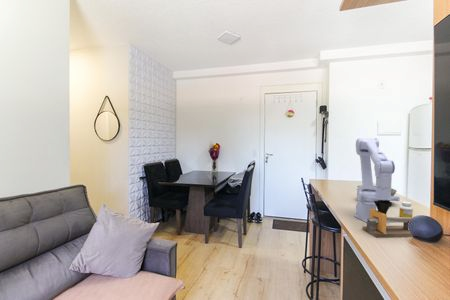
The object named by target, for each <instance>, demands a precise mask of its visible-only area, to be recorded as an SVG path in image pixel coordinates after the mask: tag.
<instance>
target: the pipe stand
mask: <svg viewBox="0 0 450 300" xmlns="http://www.w3.org/2000/svg"><path fill="white" fill-rule="evenodd" d="M411 219H412V220H413V217H412V218H410V217H399V216H398V217H397V216H396V217H389V216H388V217H386V224H387V223H388V224H391V223H393V224H394V223H395V224H397V223H398V224H399V223H403V224H402V225H386V232H384V233H382V232H381V231H379V230H377V229H376V223H379V218H377V217H376V218H368V219H367V222H366V226H365V225H363V226H362V228H361V229H362V231H364V232H366V233H368V234H370V235H371V236H373V237H374V238H376V239H378V238H380V239H381V238H409V237H410V238H412V237H413V236H412V234H411V233H410V232H409V230H408V223H409V221H410V220H411Z"/></svg>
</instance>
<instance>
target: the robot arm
mask: <svg viewBox="0 0 450 300" xmlns="http://www.w3.org/2000/svg"><path fill="white" fill-rule="evenodd" d="M379 146H380V140H379V139H378V138H359V137H357V139H356V141H355V152H356V154H357V155H358V156H359V159H360V170H361V181H362V182H361V183H362V184H361V185H359V186H360V187H357V188H356V200H357V203H356V204H355V214H354V215H353V216H354V217H355V218H357V219H359V220H361V221H362V222H365V223H367V219H368V218H370V209H375V210H377V211H379V212H382V213H384V214H386V215H387V213H388V211H389V209H390V208H391V206H393V202H394V201H395V202H400V198H401V197H400V196H397V195H394V196H391V188H392V179H393V178H392V176H393V174H394V173H395V170H396V167H395V162H394V161H393V160H390V159H388V158H387V156H386V154H385V153H384V152H383V151H380V149H379ZM372 162H373V164H374V167H373V169H374V176H375V185H374V181H373V172H372ZM375 186H376V187H375ZM362 190H364V191H362Z"/></svg>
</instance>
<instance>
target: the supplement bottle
mask: <svg viewBox="0 0 450 300" xmlns="http://www.w3.org/2000/svg"><path fill="white" fill-rule="evenodd" d="M413 211H414V209H413V207H412V202H409V201H401V205H400V206H399V212H398V214H399V216H398V217H410V218H412V219H413V213H414V212H413Z"/></svg>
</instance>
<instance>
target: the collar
mask: <svg viewBox="0 0 450 300" xmlns="http://www.w3.org/2000/svg"><path fill="white" fill-rule="evenodd" d="M387 216H388V214H387V213H386V214H384V213H382V212H379V211H378V209H376V210H375V209H370V218H376V217H377V218H379V223H376V229H377V230H379V231H381V232H382V233H384V232H386V226H387V223H386V217H387Z"/></svg>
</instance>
